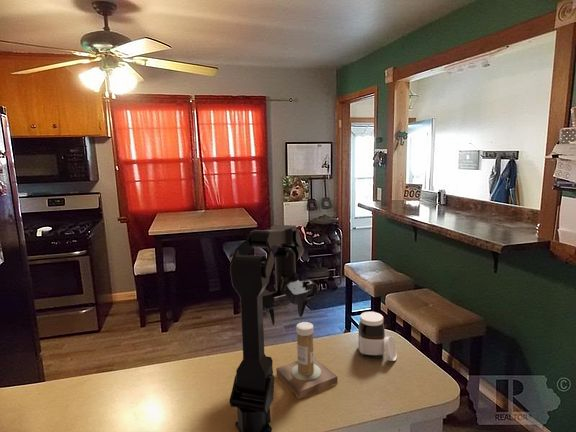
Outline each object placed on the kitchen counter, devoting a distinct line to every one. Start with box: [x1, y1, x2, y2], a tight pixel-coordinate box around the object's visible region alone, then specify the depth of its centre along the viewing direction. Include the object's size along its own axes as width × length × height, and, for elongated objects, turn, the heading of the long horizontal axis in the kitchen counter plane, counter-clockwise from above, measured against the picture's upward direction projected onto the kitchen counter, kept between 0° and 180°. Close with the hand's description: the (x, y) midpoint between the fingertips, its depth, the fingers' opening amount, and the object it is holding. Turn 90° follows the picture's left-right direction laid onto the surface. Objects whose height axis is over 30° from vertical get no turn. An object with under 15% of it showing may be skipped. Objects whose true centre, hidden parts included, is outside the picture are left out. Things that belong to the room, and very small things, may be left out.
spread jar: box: [357, 311, 398, 362], centre depth 112 cm, size 12×11×12 cm
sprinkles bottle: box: [295, 321, 315, 376], centre depth 100 cm, size 5×5×13 cm
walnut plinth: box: [275, 356, 338, 400], centre depth 102 cm, size 12×12×2 cm
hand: (286, 320), depth 108 cm, fingers open, 9 cm apart
